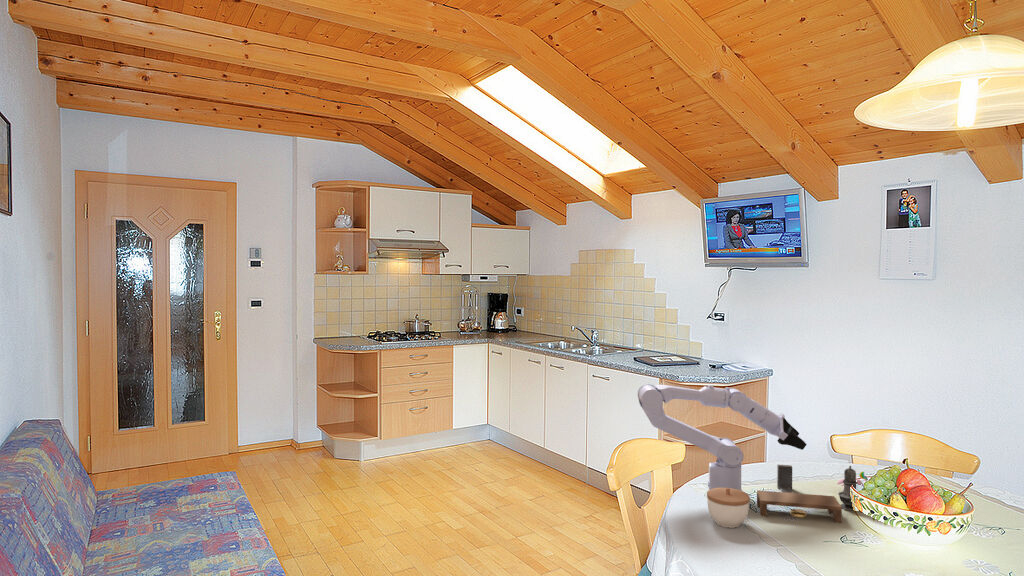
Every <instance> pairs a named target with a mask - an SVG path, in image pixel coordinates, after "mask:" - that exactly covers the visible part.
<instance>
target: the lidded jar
mask: <svg viewBox="0 0 1024 576" xmlns="http://www.w3.org/2000/svg"><path fill="white" fill-rule="evenodd" d="M750 497H751V496H750V495H749V494H748V492H745V491H743V490H742V491H741V490H737V489H733V488H713V489H710V490H709V489H708V490H707V491H706V498H707V501H706V503H707V509H708V512H709V514H710V516H711V518H712V519H713V520H714V521H715V523H716V524H717V525H718V524H719V525H718V526H720V525H721V527H723V528H727V527H729V528H731V529H735V527H736V528H739V527H740V526H741V524H743V523H744V522H745V521H746V519H747V518H748V515H749V509H750V499H751V498H750Z"/></svg>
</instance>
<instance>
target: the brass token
mask: <svg viewBox="0 0 1024 576" xmlns="http://www.w3.org/2000/svg"><path fill="white" fill-rule="evenodd" d="M790 516H791V517H793V518H796V519H806V518H807V512H806V510H802V509H797V508H793V509H790Z"/></svg>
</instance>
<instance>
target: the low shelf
mask: <svg viewBox="0 0 1024 576" xmlns="http://www.w3.org/2000/svg"><path fill="white" fill-rule="evenodd" d="M769 505H770V506H779V507H793V508H804V509H805V508H806V509H815V510H827V512H828V514H833V517H832V518H833V522H834V523H837V524H838V523H839V524H841V523H842V520H843V519H842V515H843V514H842V512H843V511H842V510H843V509H842V507H841V503H839V501H838V500H837V498H836V497H835V495H824V494H811V493H810V494H808V493H798V492H797V493H796V492H793V493H786V492H781V491H771V490H770V491H769V490H758V489H757V490H756V507H757V508H759V515H760V517H768V506H769Z"/></svg>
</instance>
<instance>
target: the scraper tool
mask: <svg viewBox="0 0 1024 576" xmlns="http://www.w3.org/2000/svg"><path fill="white" fill-rule="evenodd" d="M776 467H777V468H776V469H777V470H776V475H777V477H776V483H777V484H776V487H777V489H778V490H779V491H780V492H786V493H794V491H793V466H792V465H790V464H777V466H776Z"/></svg>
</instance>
